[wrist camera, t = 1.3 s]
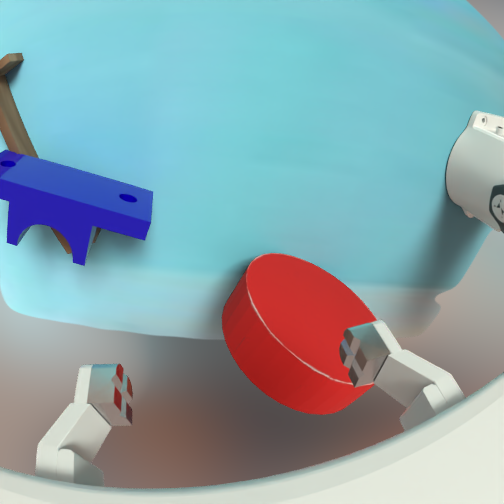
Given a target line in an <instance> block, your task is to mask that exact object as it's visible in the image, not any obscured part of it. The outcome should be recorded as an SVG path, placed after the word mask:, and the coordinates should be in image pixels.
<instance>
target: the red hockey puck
mask: <svg viewBox="0 0 504 504" xmlns="http://www.w3.org/2000/svg"><path fill="white" fill-rule="evenodd" d="M374 321H377V319H376V318H375V316H374V315H373V313H372V312H371V311H370V310H369V308H368V307H367V306H366V305H365V304H364V302H363V301H362V300H361V299H360V298H359V297H358V296H357V295H356V294H355V293H354V292H353V291H352V290H351V289H349V288H348V287H347V286H346V285H345V284H343V283H342V282H341V281H340V280H338V279H337V278H335V277H334V276H333V275H331V274H330V273H328V272H326V271H325V270H323V269H322V268H320V267H318V266H316V265H314V264H312V263H310V262H308V261H305V260H303V259H301V258H297V257H294V256H291V255H286V254H281V253H269V254H263V255H261V256H258V257H256V258H255V259H254V260H253V261H252V262H251V263H250V265H249V266H248V268H247V270H246V271H245V273H244V274H243V276H242V278H241V279H240V281H239V282H238V284H237V286H236V287H235V289H234V291H233V292H232V294H231V295H230V297H229V299H228V300H227V302H226V304H225V306H224V309H223V314H222V329H223V333H224V337H225V341H226V344H227V346H228V348H229V350H230V353H231V355H232V356H233V358H234V360H235V361H236V363H237V364H238V366H239V368H240V369H241V370H242V371H243V372H244V373H245V375H246V376H247V377H248V378H249V379H250V381H251V382H252V383H253V384H255V385H256V386H257V387H258V388H259V389H260V390H262V391H263V392H264V393H265V394H266V395H268V396H269V397H271V398H273V399H274V400H276V401H277V402H279V403H281V404H283V405H285V406H287V407H290V408H292V409H294V410H297V411H301V412H305V413H308V414H320V415H323V414H330V413H335V412H337V411H340V410H342V409H344V408H345V407H346V406H348V405H349V404H351V402H353V401H355V400H356V399H357V398H358V397H360V396H361V395H362V394H364V393H365V392H366V391H367V390H368V389H370V388H371V387H372V386H373V385H374V382H372V383H369V384H365V385H362V386H359V387H355V388H354V386H353V384H352V382H351V380H350V378H349V376H348V372H349V368H347V367H346V366H344V365H343V363H342V361H341V358H340V354H339V347H340V343H341V342H342V341H343V340H344V339H345V338H344V336H343V334H344V331H345V330H346V329H347V328H351V327H354V326H358V325H362V324H365V323H371V322H374Z"/></svg>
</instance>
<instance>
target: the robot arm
mask: <svg viewBox="0 0 504 504" xmlns="http://www.w3.org/2000/svg"><path fill="white" fill-rule="evenodd" d="M446 185H447V191H448V194H449V196H450V198H451V200H452V201H453V202H454V203H455V204H457V205H459V206H461V207H462V209H463V211H464V213H465V215H466V216H468V217H470V218H472V217H474V216H475V217H476V218H478V219H479V220H481V221H482V222H484V223H485V224H487V225H488V226H490V227H491V228H493V229H494V230H496V231H498V232H500V231H502V232H503V233H504V117H502V116H498V115H494V114H490V113H485V112H481V111H474V112H473V114H472V115H471V118H470V120H469V123H468V126H467V128H466V129H465V130H464V132H463V133H462V134H461V135H460V137H459V138H458V140H457V141H456V143H455V145H454V147H453V149H452V151H451V154H450V157H449V161H448V165H447V171H446ZM343 336H344V338H345V339H344V340H343V341H342V342H341V343H340V347H339V354H340V358H341V361H342V363H343V365H344V366H346V367H347V368H349V372H348V376H349V378H350V380H351V382H352V384H353V386H354V388H355V387H359V386H362V385H365V384H369V383H372V382H374V384H375V385H377V386H378V387H379V388H381V389H382V390H383V391H385V392H386V393H387V394H389V395H390V396H391V397H393V398H394V399H395V400H397V401H398V402H399V403H401V404H402V405H404V406H405V407H406V408H407V409H406V410H405V411H404V413H403V414H402V415H401V416H400V419H399V420H400V422H401V424H402V426H403V428H404V430H405V431H404V432H402V433H400V434H398V435H396V436H394V437H391V438H389V439H387V440H384V441H382V442H379V443H377V444H375V445H372V446H370V447H367V448H365V449H362V450H359V451H357V452H354V453H351V454H348V455H345V456H342V457H339V458H336V459H333V460H330V461H327V462H324V463H321V464H317V465H314V466H310V467H307V468H303V469H299V470H295V471H291V472H287V473H283V474H278V475H274V476H269V477H264V478H259V479H253V480H248V481H242V482H235V483H228V484H221V485H211V486H201V487H189V488H167V489H135V488H133V489H132V488H114V487H104V473H103V471H102V470H100V469H99V468H97V467H96V466H94V465H93V464H91V462H92V461H93V459H94V457H95V456H96V454H97V452H98V450H99V449H100V447H101V445H102V443H103V442H104V440H105V438H106V436H107V435H108V433H109V431H110V429H111V426H128V425H132V409H131V407H130V406H129V403H130V402H131V401H132V396H133V395H132V394H133V393H132V386H131V382H130V380H129V378H128V376H127V375H125V374H123V367H122V366H121V364H95V365H94V364H90V365H81V367H80V368H79V372H78V378H77V385H76V391H75V397H74V403H70V404H69V406H68V407H67V408H66V409H65V411H64V412H63V413H62V414H61V416H60V417H59V418H58V419H57V421H56V422H55V423H54V425H53V426H52V427H51V428H50V430H49V431H48V432H47V433H46V435H45V436H44V437H43V439H42V440H41V441H40V442H39V444H38V449H37V450H38V451H37V459H36V472H35V476H32V475H28V474H24V473H20V472H16V471H13V470H9V469H6V468H3V467H0V504H504V372H503V373H502V374H500V375H499V376H497V377H496V378H495V379H493V380H492V381H490V382H489V383H488V384H486V385H485V386H483V387H482V388H480V389H479V390H477V391H476V392H474V393H473V394H471V395H470V396H468V397H467V398H465V396H464V394H463V393H462V391H461V390H460V388H459V386H458V385H457V383H456V382H455V380H454V378H453V377H452V375H451V374H450V373H448V372H446V371H444V370H443V369H441V368H439V367H437V366H435V365H434V364H432V363H430V362H428V361H426V360H424V359H422V358H421V357H419V356H417V355H415V354H414V353H412V352H410V351H408V350H406V349H405V350H402V349H401V347H400V345H399V344H398V342H397V341H396V339H395V338H394V336H393V335H392V333H391V332H390V330H389V329H388V327H387V326H386V324H385V323H384V321H382V320H377V321H374V322H371V323H365V324H362V325H358V326H354V327H351V328H347V329H346V330H345V331H344V334H343Z"/></svg>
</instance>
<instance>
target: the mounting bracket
mask: <svg viewBox="0 0 504 504" xmlns="http://www.w3.org/2000/svg"><path fill="white" fill-rule="evenodd" d="M0 199H3V200H6V201H9V211H8V227H7V243H9V244H13V245H16V246H17V245H18V244H19V242H20V241H21V239H22V238H23V236H24V235H25V233H26V232H27V231H28V229H29V228H30V226H32V225H36V224H42V225H47V226H50V227H52V228H54V229H56V230H57V231H59V232H60V233H61V234H62V235H63V236H64V237H65V238H66V240H67V241H68V243H69V245H70V247H71V250H72V254H73V263H76V264H80V265H84V266H85V263H86V260H87V257H88V254H89V251H90V248H91V245H92V242H93V239H94V236H95V234H96V231H97V228H98V227H99V228H102V229H106V230H109V231H113V232H116V233H120V234H124V235H127V236H131V237H134V238H138V239H142V240H145V238H146V235H147V232H148V229H149V226H150V224H151V213H152V200H153V192H152V191H149V190H146V189H142V188H139V187H136V186H133V185H129V184H126V183H123V182H119V181H116V180H113V179H109V178H106V177H102V176H99V175H96V174H92V173H89V172H85V171H82V170H78V169H75V168H71V167H68V166H64V165H61V164H57V163H54V162H50V161H46V160H43V159H39V158H35V157H32V156H28V155H24V154H17V153H15V152H12V151H9V150H4V151H3V152H1V153H0Z"/></svg>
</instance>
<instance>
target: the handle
mask: <svg viewBox="0 0 504 504" xmlns="http://www.w3.org/2000/svg"><path fill="white" fill-rule="evenodd" d="M23 60H24V59H23V56H22V53H13V54H7V55H6V56H4V57H3V58H2V59H1V60H0V130H1V132H2V135H3V137H4V139H5V142H6V144H7V146H8V148H9V151H12V152H15V153H17V154H24V155H28V156H32V157H35V158H38V155H37V153H36V151H35V149H34V147H33V145H32V143H31V140H30V138H29V136H28V134H27V131H26V129H25V127H24V124H23V122H22V119H21V117H20V115H19V112H18V109H17V107H16V104H15V102H14V99H13V96H12V94H11V91H10V88H9V85H8V82H7V79H6V76H5V74H7V73H8V72H9V71H10V70H12V69H13V68H14V67H15V66H17V65H18V64H19V63H20V62H22V61H23ZM51 229H52V230H53V232H54V233H55V235H56V237H57V238H58V240H59V241H60V243H61V244H62V246H63V247H64V249H65V251H66V252H67V254H70V253H72V250H71V247H70V245H69V243H68V241H67V240H66V238H65V237H64V236H63V235H62V234H61V233H60V232H59V231H57V230H56V229H54V228H52V227H51ZM100 230H101V228H99V227H98V228H97V231H96V234H95V236H94V239H93V242H92V243H95V241H96V239H97V237H98V234H99V232H100Z"/></svg>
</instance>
